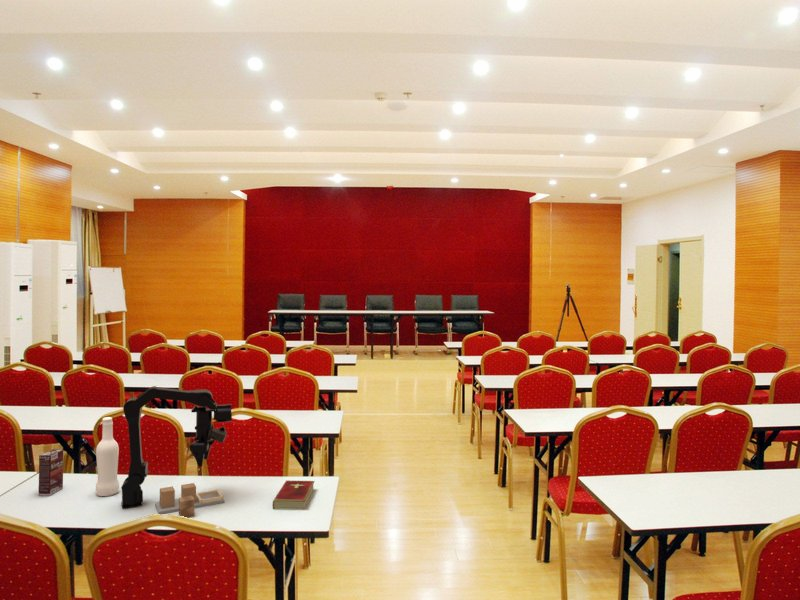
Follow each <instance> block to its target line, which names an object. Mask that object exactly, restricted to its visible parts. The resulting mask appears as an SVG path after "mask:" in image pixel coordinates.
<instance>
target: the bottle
mask: <svg viewBox="0 0 800 600" xmlns="http://www.w3.org/2000/svg"><path fill="white" fill-rule="evenodd" d="M101 421H102V424H101V425H102V434H101V435H102V436H101V440H100V441H99V443H98V444H97V445H96V449H95V452H96V453H95V455H96V456H95V457H96V470H97V482H96V485H95V492H96V496H98V497H102V496H105V497H110V496H114V495H116V494H117V493H118V492H119V490H120V482H119V480H118V469H119V468H118V467H119V453H120V452H119V451H120V447H119V444H118V442H117V441H116V440H115V438H114V435H113V434H114V430H113V429H114V427H113V426H114V422H113V417H111V416H107V417H106V416H105V417H103V418H102V420H101Z"/></svg>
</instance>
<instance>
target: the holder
mask: <svg viewBox="0 0 800 600" xmlns="http://www.w3.org/2000/svg"><path fill="white" fill-rule="evenodd" d="M180 488H181V489H180V496H181V497H186V496H193V498H194V509H198V508H203V507H204V508H205V507H209V506H213V505H219V504H220V505H221V504H225V499H224V495H223V494H222V493H221V491H220V490H219V489H211V490H207V491H201V492H197V485H196V484H195V482H192V483H191V482H190V483H185V484H181V487H180ZM175 494H176V490H175V488H174V486H172V485H171V486H166V487H160V488H159V501H157V502H154V506H155V509H156V511H157V514H158V513H159V514H160V515H164V514H170V513H176V512H179V498H175V497H176V495H175ZM159 514H158V515H159Z"/></svg>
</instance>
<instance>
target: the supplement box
mask: <svg viewBox="0 0 800 600" xmlns="http://www.w3.org/2000/svg"><path fill="white" fill-rule="evenodd" d="M38 457H39V458H38V496H40V497H51V496H52V495H53V494H56V493H58V492H60V491H61V490H63V488H64V449H58V448H57V449H55V448H54V449H51V450H49V451H47V452H44V453H42V454H39V455H38Z"/></svg>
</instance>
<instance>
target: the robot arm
mask: <svg viewBox="0 0 800 600" xmlns="http://www.w3.org/2000/svg"><path fill="white" fill-rule="evenodd" d="M153 399H159V400H161V399H162V400H167V401H168V400H169V401H170V400H171V401H178V402H187V403H190V404H193V405H194V406H193V408H191V410H190V411H191V413H196V416H195V417H196V419H195V421H196V422H195V426H194V430H195V437H194V441H192V443H191V444H189V452H191V454H192V455H193V457H194V459H195V461H196V464H197V466H198V467H200V468H201V467H203V464H204V460H208V458H209V454H210V451H211V447H212V445H213V444H214V443H215V442H216V441H217V442H218V443H221V444H223V443H224V441H225V440H226V437H227V435H228V431H226V427H225V426H221V427H219V428H216V427H215V426H214V424H213V421H215V422H216V423H229V422H232V419H233V418H232V416H233V413H232V404H231V403H227V404H218V403H217V402H216V400H215V399H214V398H213V393H212V392H211V390H208V389H205V388H204V389H193V390H187V389H186V390H184V389H176V388H167V387H158V386H151V387H149V388H148V389H147V390H146V391H144V392H142V393H140V394H139V395H138V396H136V397H134V396H133V397H130V398H128V400H127V401H126V402H125V403H124V404H123V408H122V410H123V414H124V418H125V420H126V423H127V425H128V427H127V428H128V439H129V440H128V441H129V456H130V457H129V458H130V463H129V468H128V474H127V475H128V476H127V477H126V478H125V479H124V480H123V483H122V485H121V487H120V488H121V502H120V504H121V509H128V508H134V507H140V506H142V505H143V502H144V500H143V499H144V495H143V494H144V492H143V491H144V490H143V489H142V486H141V485H143V483H144V482H145V479H146V477H147V476H148V474H149V469H148V460H146V461H144V459H143V450H142V436H141V434H142V433H141V431H142V430H141V418H142V413H143V412H142V411H143V407H145V406H146V405H147V404H149V402H151V401H153ZM214 427H215V428H214Z"/></svg>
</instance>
